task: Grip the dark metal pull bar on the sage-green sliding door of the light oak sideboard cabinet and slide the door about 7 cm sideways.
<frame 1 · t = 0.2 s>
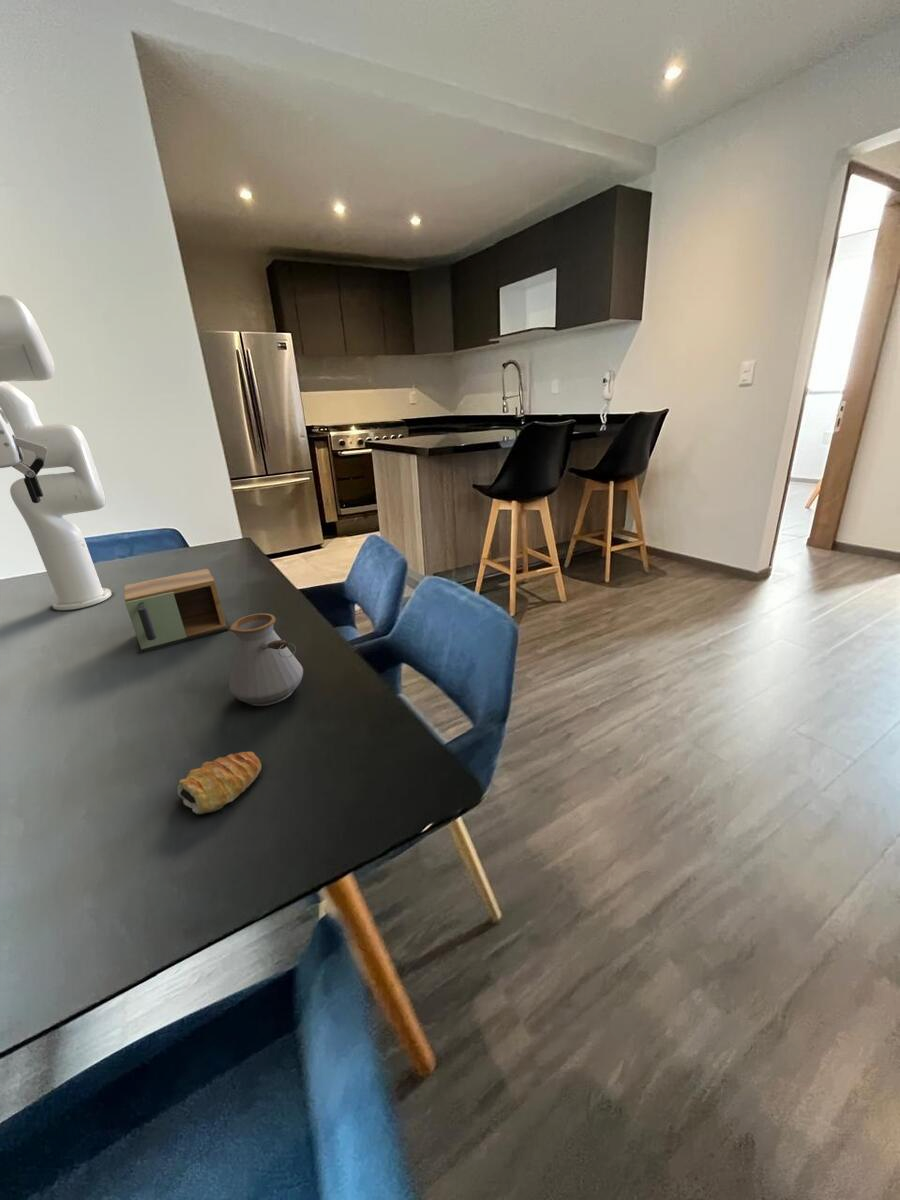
sliding door: (157, 624, 95), point 6 cm above the table, slide at 0.0 cm
pastry: (220, 791, 61), on the table
cabinet: (183, 630, 105), on the table
coffee pot: (280, 706, 77), on the table
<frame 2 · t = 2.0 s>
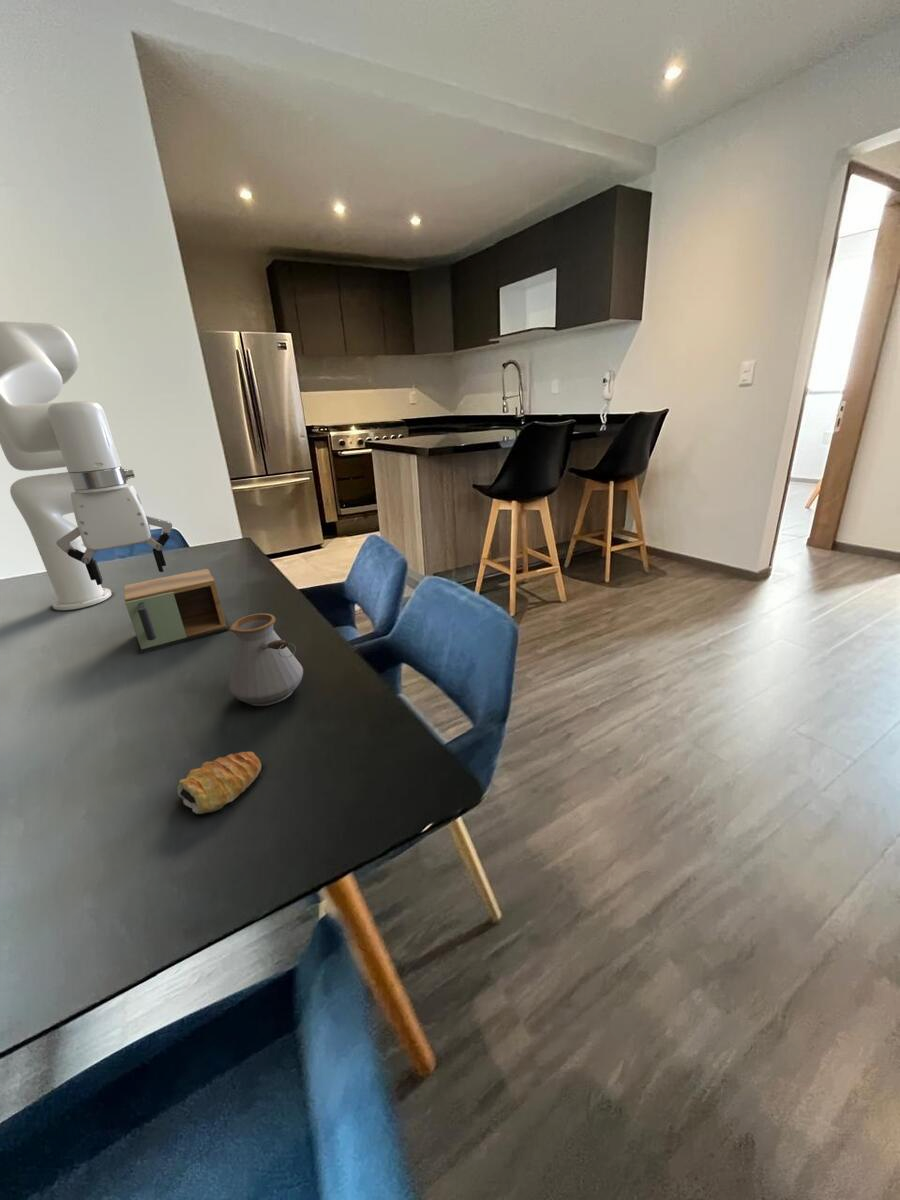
hand: (131, 576, 89), 16 cm above the table, tool pointing down, fingers open, 9 cm apart
nothing on the table moved.
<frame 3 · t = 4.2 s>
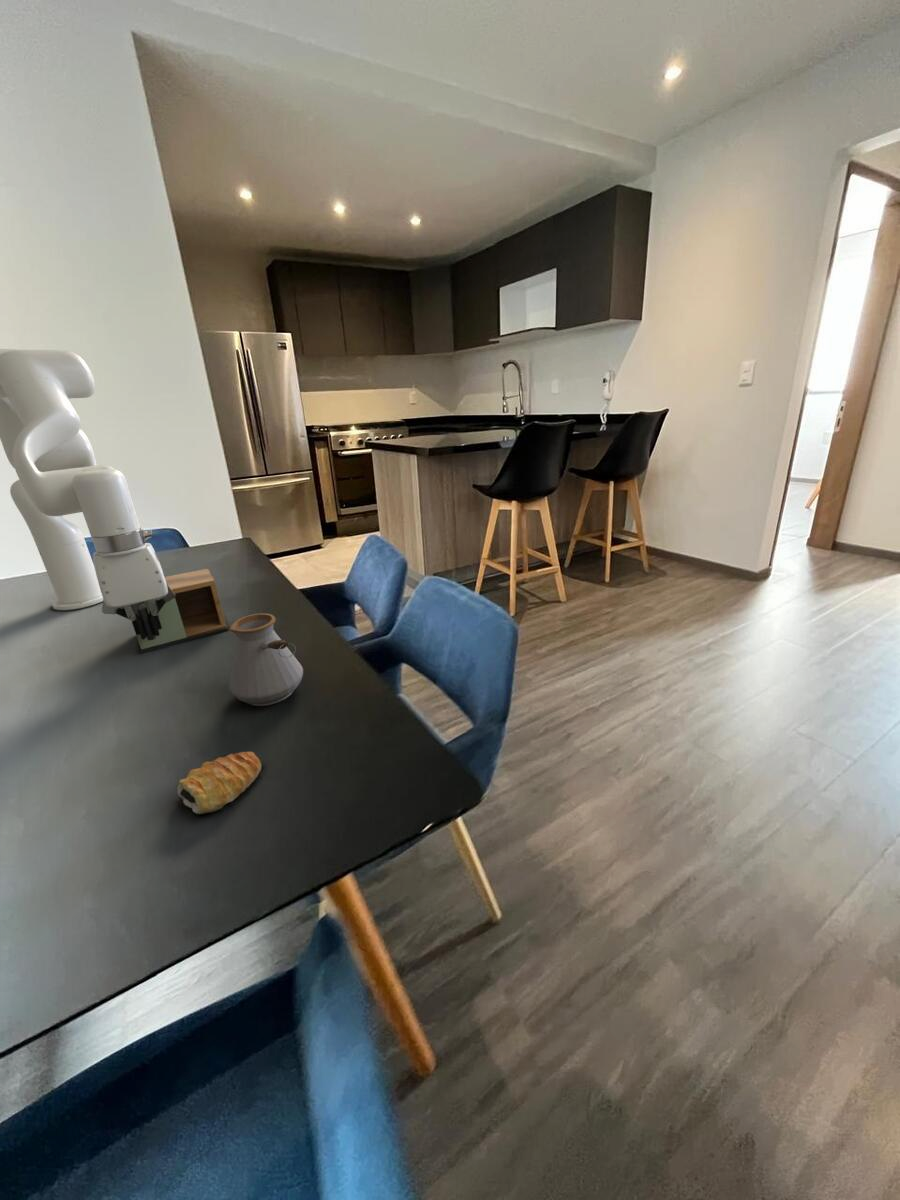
hand: (150, 634, 94), 5 cm above the table, tool pointing down, fingers closed
sliding door: (157, 624, 95), point 6 cm above the table, slide at 0.0 cm, touching gripper
everything else where it was.
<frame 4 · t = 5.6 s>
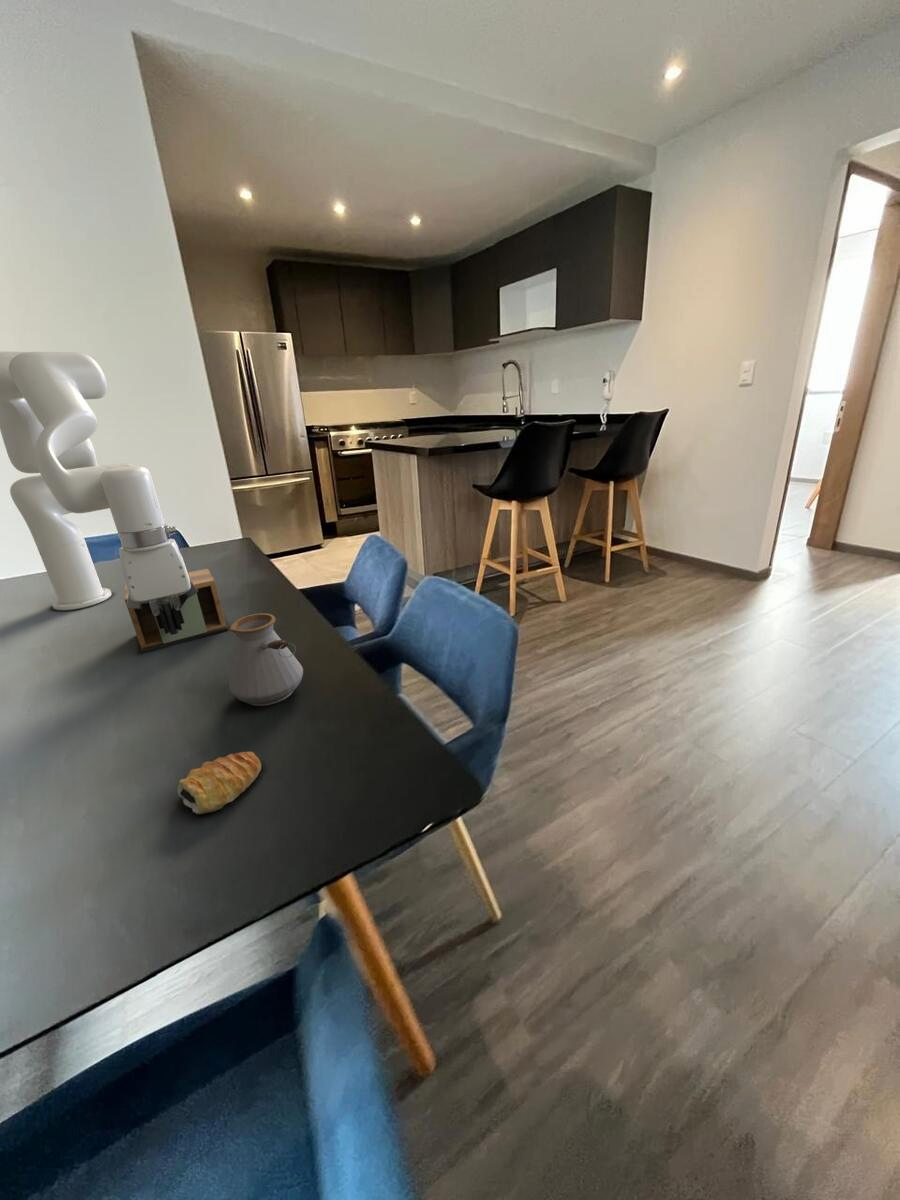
hand: (173, 628, 96), 5 cm above the table, tool pointing down, fingers closed
sliding door: (179, 618, 97), point 6 cm above the table, slide at 3.9 cm, touching gripper
everything else where it was.
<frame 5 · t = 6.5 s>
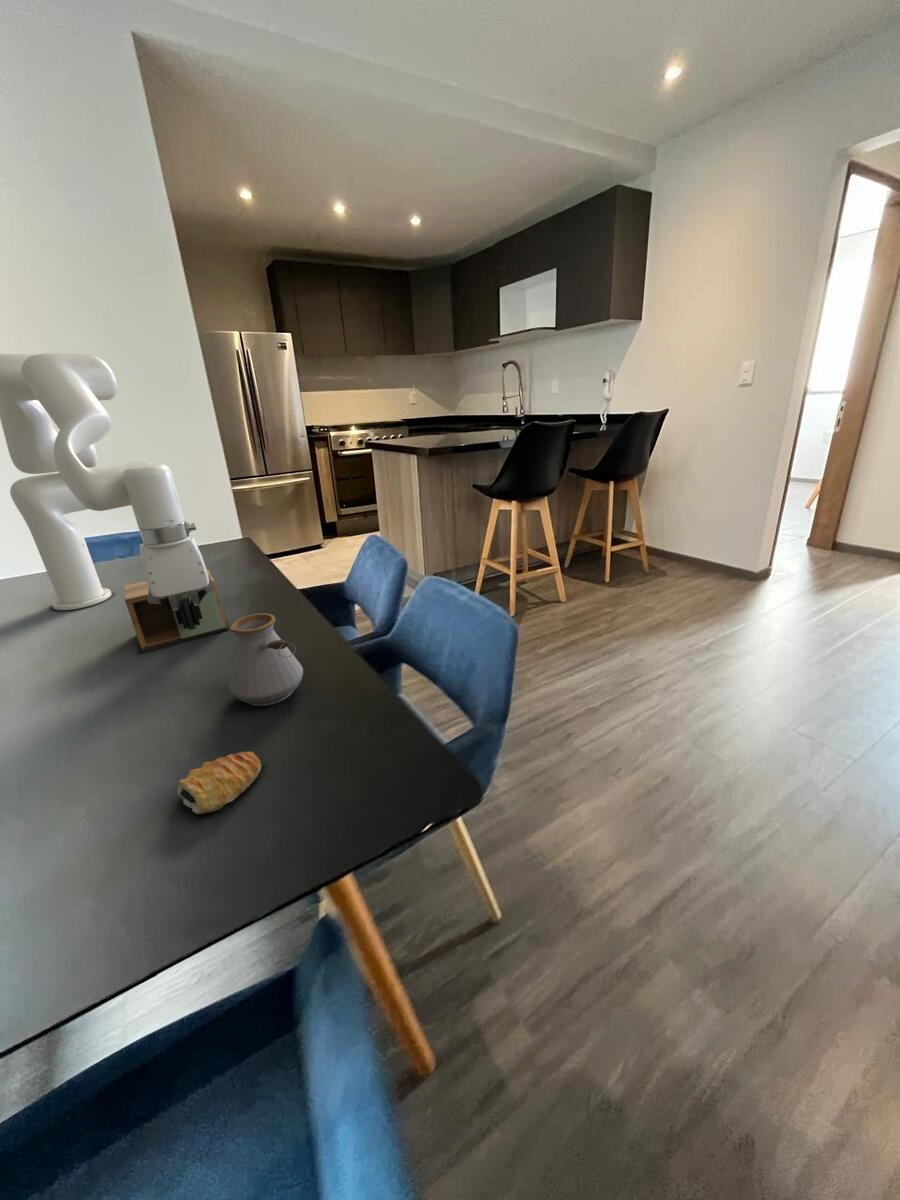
hand: (191, 624, 97), 5 cm above the table, tool pointing down, fingers closed, pressing on sliding door
sliding door: (197, 614, 99), point 6 cm above the table, slide at 7.2 cm, touching gripper
everything else where it was.
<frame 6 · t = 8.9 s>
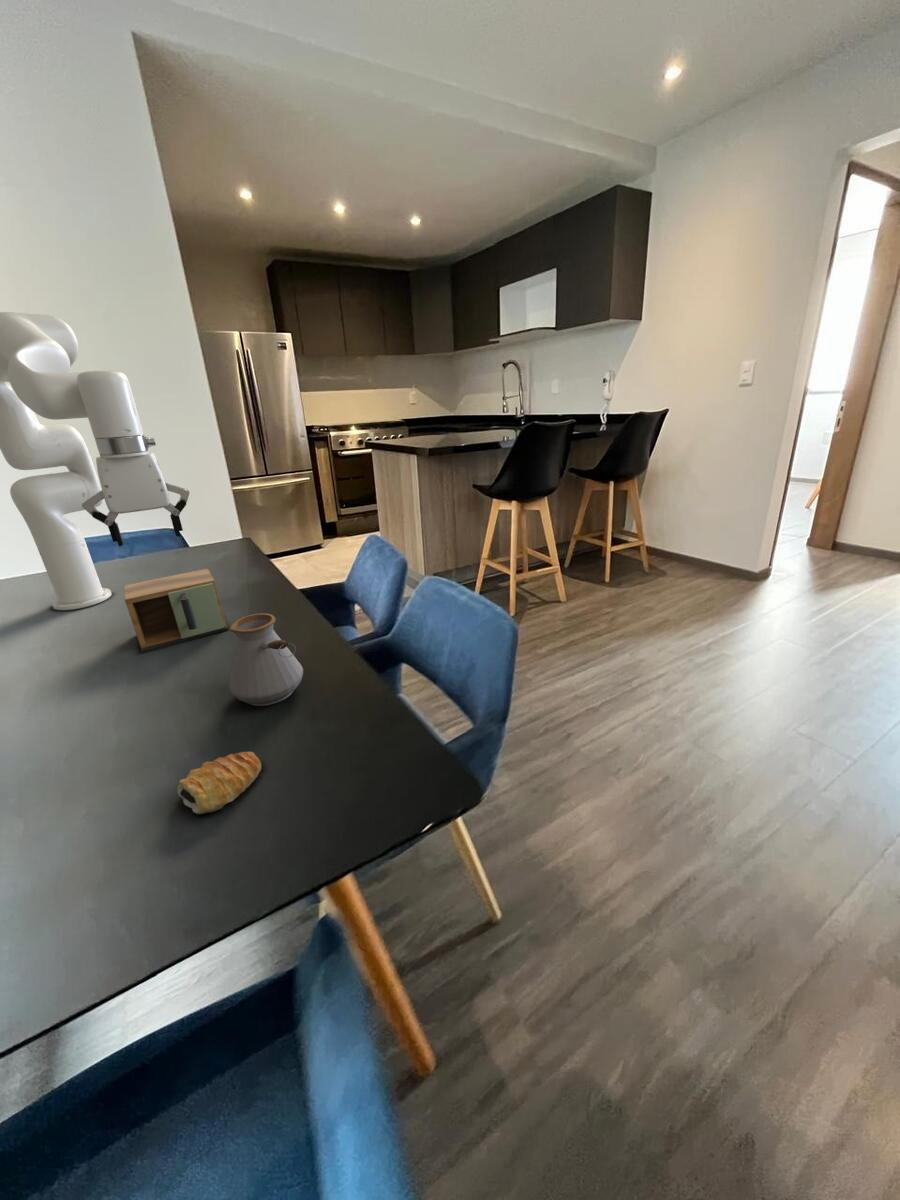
hand: (150, 539, 94), 21 cm above the table, tool pointing down, fingers open, 9 cm apart
sliding door: (198, 614, 99), point 6 cm above the table, slide at 7.2 cm
everything else where it was.
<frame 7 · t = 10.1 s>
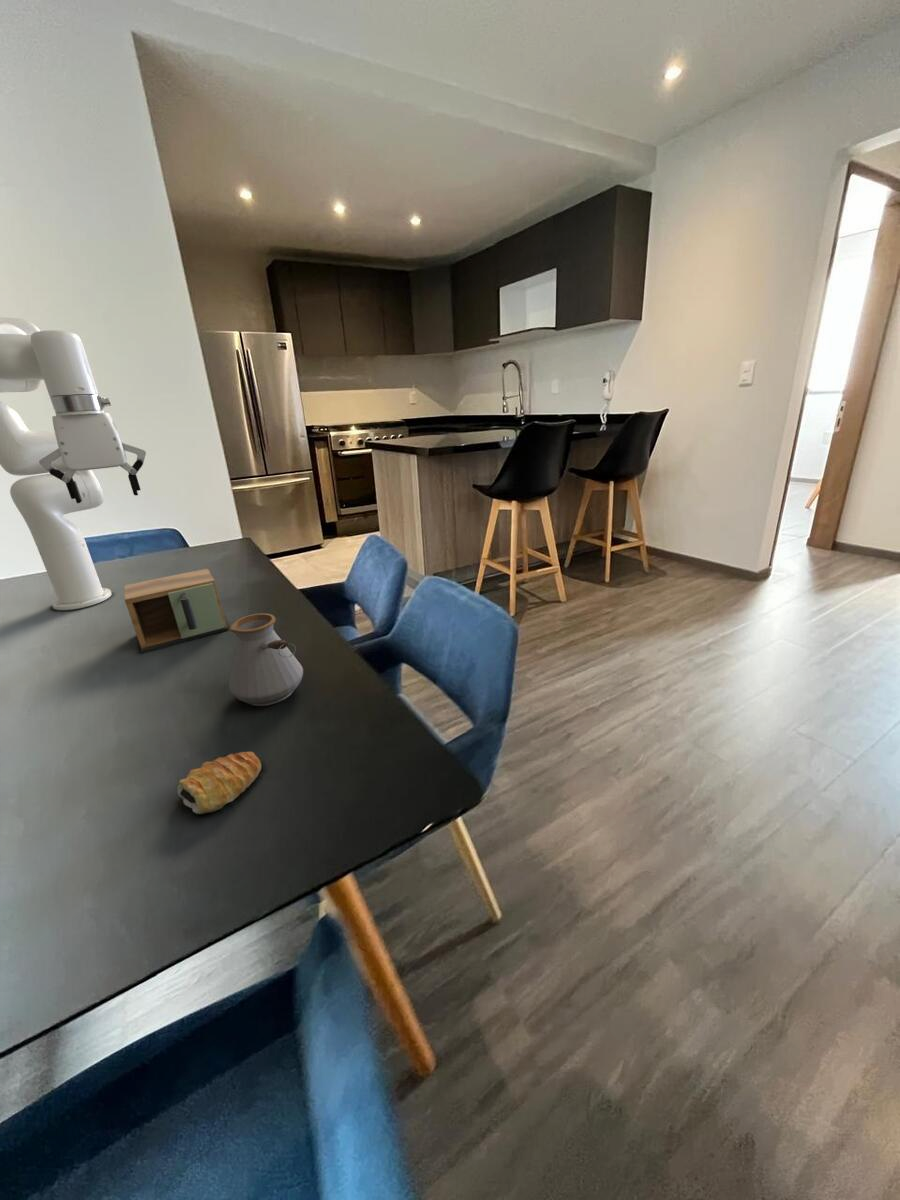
hand: (108, 498, 98), 28 cm above the table, tool pointing down, fingers open, 9 cm apart
nothing on the table moved.
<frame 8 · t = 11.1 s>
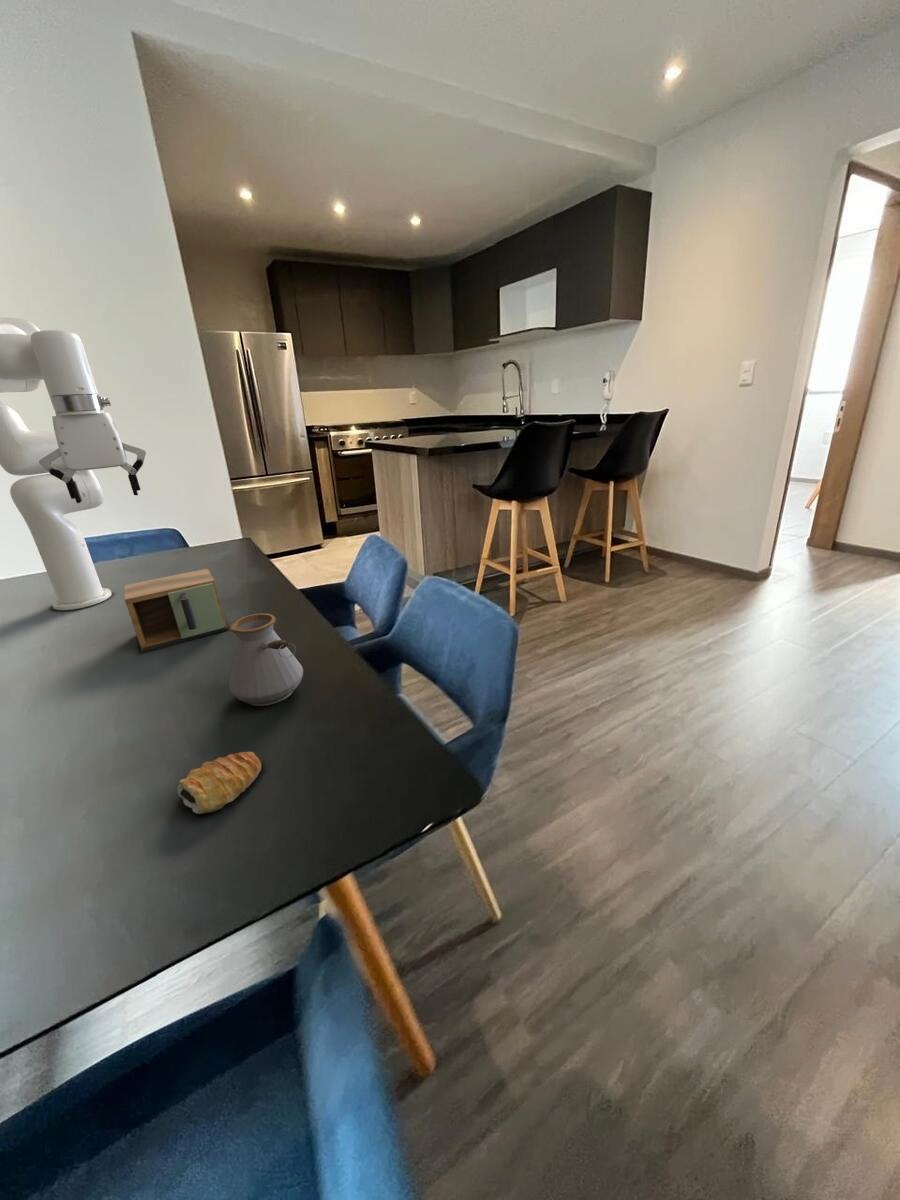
hand: (108, 498, 98), 28 cm above the table, tool pointing down, fingers open, 9 cm apart
nothing on the table moved.
at the end: sliding door slide at 7.2 cm; the gripper is holding nothing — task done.
